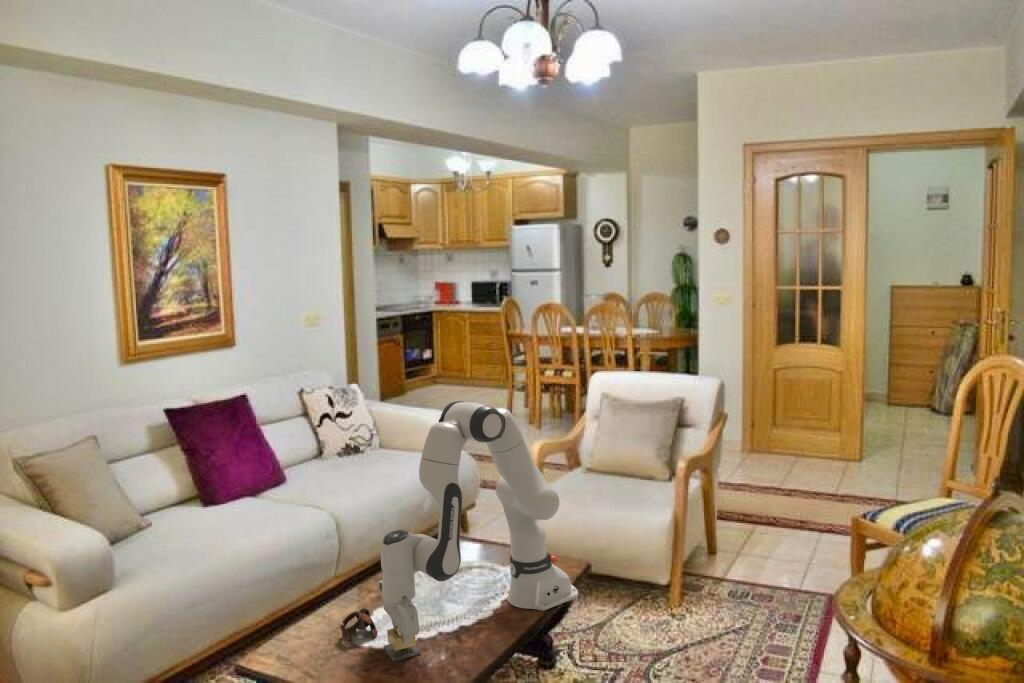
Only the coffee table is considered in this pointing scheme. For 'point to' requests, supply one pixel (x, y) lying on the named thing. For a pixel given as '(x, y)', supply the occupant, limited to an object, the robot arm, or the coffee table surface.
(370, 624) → the pottery mug
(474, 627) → the coffee table surface
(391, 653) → the post
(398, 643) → the wooden square frame
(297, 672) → the coffee table surface
